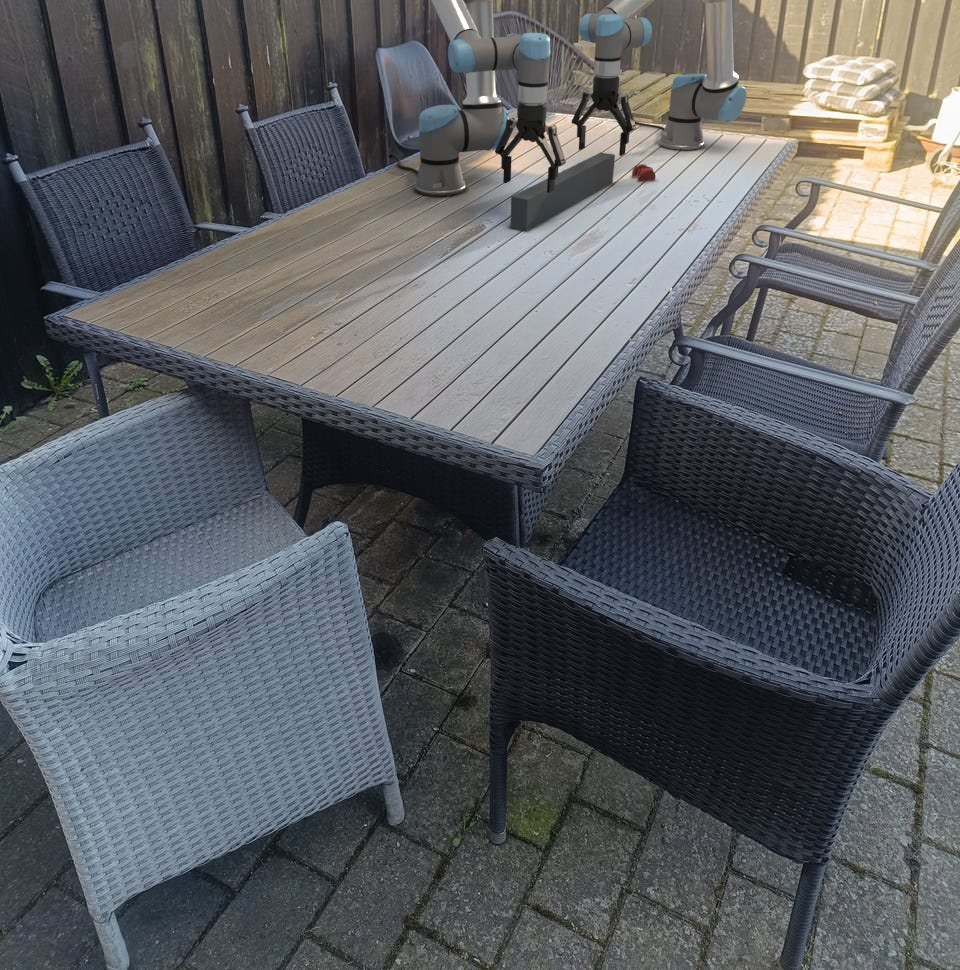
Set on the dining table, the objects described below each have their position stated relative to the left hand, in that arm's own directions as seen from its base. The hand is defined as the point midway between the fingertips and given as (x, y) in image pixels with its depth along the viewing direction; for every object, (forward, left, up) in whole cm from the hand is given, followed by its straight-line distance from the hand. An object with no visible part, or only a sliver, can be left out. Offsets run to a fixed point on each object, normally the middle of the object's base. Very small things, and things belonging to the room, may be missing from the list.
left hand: (528, 186), depth 227 cm
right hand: (-4, +43, 0) cm, 43 cm away
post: (-2, +21, -10) cm, 23 cm away
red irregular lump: (+3, +58, -10) cm, 59 cm away
